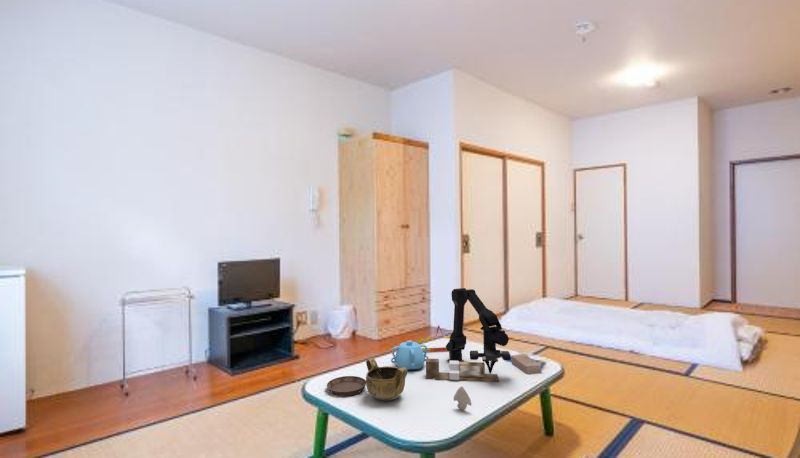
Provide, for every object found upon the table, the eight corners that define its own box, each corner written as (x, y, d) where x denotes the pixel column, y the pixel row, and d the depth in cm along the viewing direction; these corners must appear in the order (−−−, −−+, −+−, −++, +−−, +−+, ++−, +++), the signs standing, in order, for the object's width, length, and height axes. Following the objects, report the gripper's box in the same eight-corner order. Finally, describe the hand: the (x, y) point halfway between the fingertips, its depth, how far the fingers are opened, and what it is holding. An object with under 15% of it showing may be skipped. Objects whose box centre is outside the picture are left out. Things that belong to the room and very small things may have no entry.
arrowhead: (452, 409, 170) (451, 384, 170) (455, 406, 172) (454, 382, 172) (470, 414, 166) (469, 388, 165) (473, 411, 168) (472, 386, 167)
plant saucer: (343, 401, 180) (343, 394, 179) (318, 390, 192) (318, 383, 192) (374, 389, 192) (374, 382, 192) (349, 379, 205) (349, 373, 204)
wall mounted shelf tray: (459, 376, 202) (459, 364, 202) (459, 374, 205) (458, 361, 205) (484, 377, 200) (484, 365, 200) (484, 374, 204) (484, 362, 204)
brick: (542, 373, 208) (542, 364, 208) (526, 375, 207) (526, 365, 207) (525, 362, 225) (525, 354, 224) (511, 364, 223) (510, 355, 223)
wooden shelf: (425, 379, 202) (425, 362, 202) (426, 373, 210) (426, 357, 210) (499, 382, 198) (498, 364, 198) (497, 375, 206) (497, 359, 205)
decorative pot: (432, 366, 220) (432, 340, 220) (411, 375, 208) (411, 347, 208) (408, 359, 231) (408, 334, 231) (387, 367, 219) (387, 341, 219)
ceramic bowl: (418, 399, 180) (418, 364, 180) (390, 412, 168) (389, 375, 168) (382, 385, 196) (381, 352, 195) (353, 396, 184) (353, 362, 183)
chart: (409, 354, 242) (408, 327, 241) (408, 352, 245) (408, 326, 244) (461, 351, 245) (461, 325, 245) (460, 349, 248) (459, 324, 248)
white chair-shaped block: (449, 379, 200) (449, 366, 199) (449, 372, 208) (449, 360, 208) (459, 379, 199) (459, 367, 199) (459, 372, 208) (458, 360, 208)
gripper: (470, 345, 195) (471, 379, 195) (512, 346, 193) (512, 380, 193) (469, 338, 206) (470, 370, 206) (508, 339, 204) (509, 371, 204)
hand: (490, 373), depth 202 cm, fingers closed
